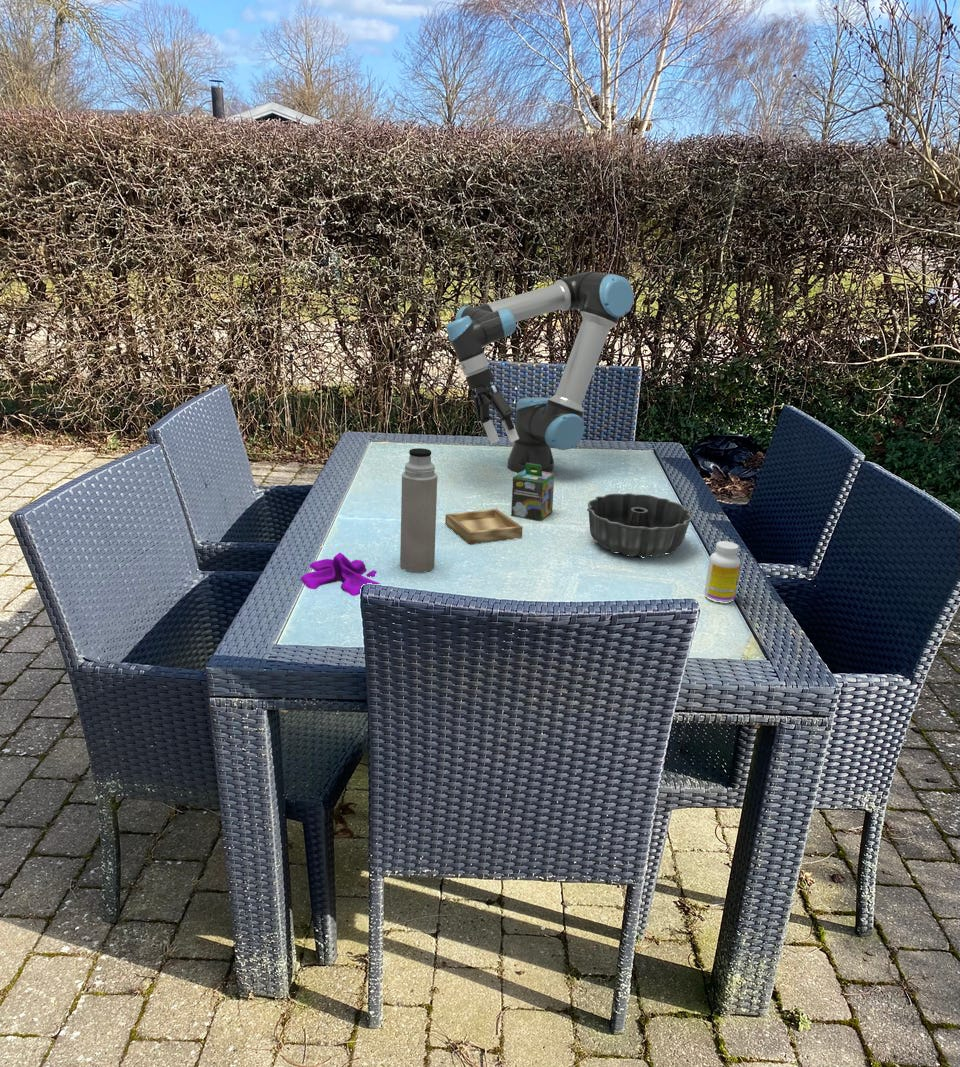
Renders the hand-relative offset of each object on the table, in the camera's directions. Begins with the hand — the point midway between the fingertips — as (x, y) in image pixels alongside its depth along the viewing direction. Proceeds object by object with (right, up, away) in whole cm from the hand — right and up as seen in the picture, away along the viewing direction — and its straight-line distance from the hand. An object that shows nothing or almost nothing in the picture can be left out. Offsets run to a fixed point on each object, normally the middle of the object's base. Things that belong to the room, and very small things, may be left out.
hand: (504, 441), depth 256 cm
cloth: (-38, -36, -54) cm, 76 cm away
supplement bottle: (+46, -41, -57) cm, 84 cm away
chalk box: (+7, -21, -9) cm, 24 cm away
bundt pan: (+33, -30, -28) cm, 52 cm away
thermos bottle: (-22, -34, -48) cm, 63 cm away
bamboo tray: (-6, -26, -24) cm, 36 cm away
